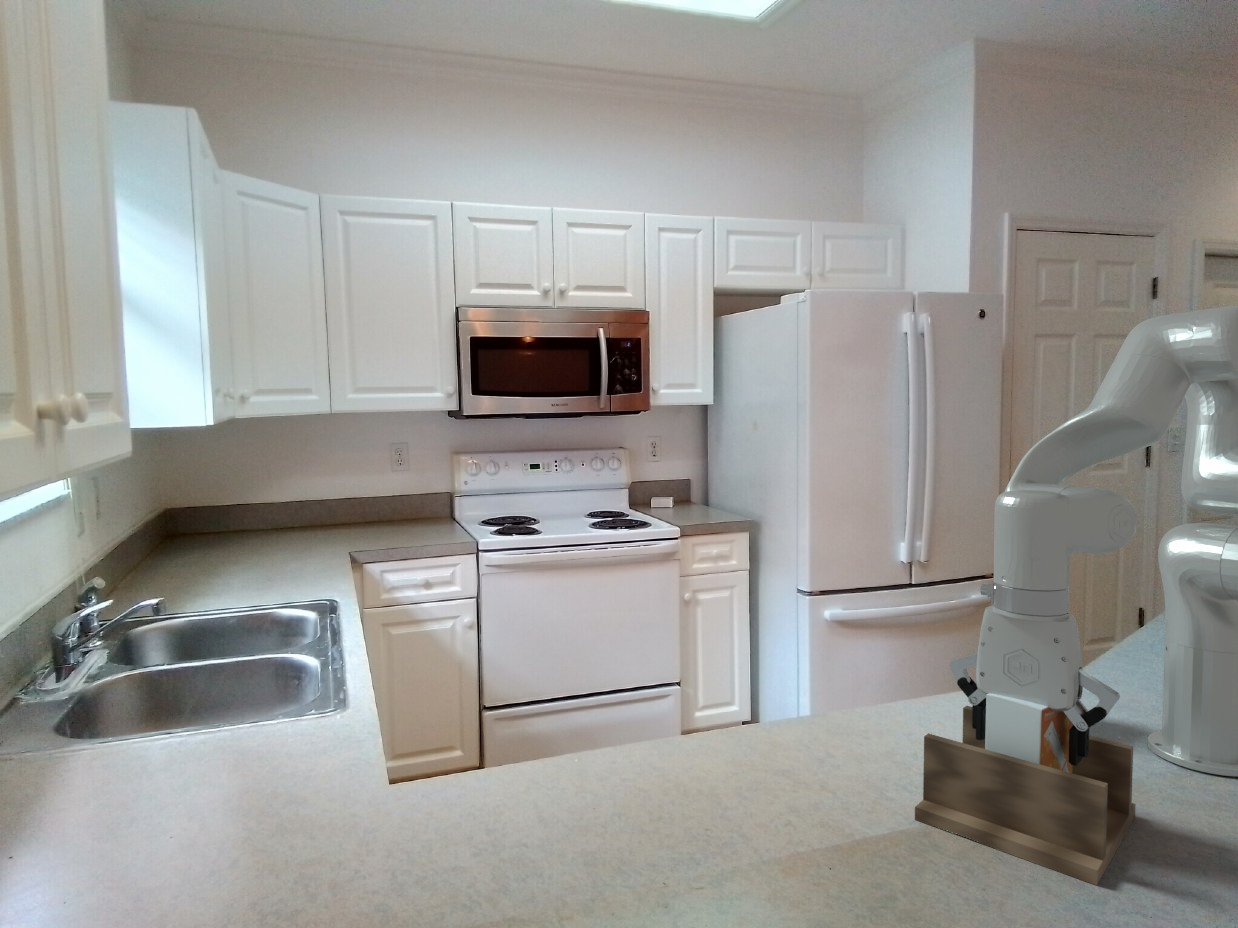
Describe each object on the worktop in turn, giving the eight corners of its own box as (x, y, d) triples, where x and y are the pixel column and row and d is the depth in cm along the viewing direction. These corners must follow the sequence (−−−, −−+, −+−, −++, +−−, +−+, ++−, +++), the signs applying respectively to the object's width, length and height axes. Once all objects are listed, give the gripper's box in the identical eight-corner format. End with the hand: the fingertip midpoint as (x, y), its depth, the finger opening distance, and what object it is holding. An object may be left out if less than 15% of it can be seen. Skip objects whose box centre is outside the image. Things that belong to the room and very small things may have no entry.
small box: (1039, 828, 82) (1042, 709, 81) (982, 804, 87) (984, 692, 86) (1073, 805, 86) (1076, 693, 86) (1017, 784, 92) (1019, 678, 91)
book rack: (914, 819, 87) (915, 742, 86) (971, 768, 99) (973, 700, 99) (1096, 885, 74) (1099, 795, 74) (1135, 816, 87) (1137, 739, 86)
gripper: (939, 594, 89) (938, 737, 90) (1112, 619, 77) (1108, 784, 78) (963, 584, 94) (961, 719, 95) (1128, 606, 82) (1124, 760, 83)
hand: (1027, 748), depth 86 cm, fingers open, 9 cm apart
